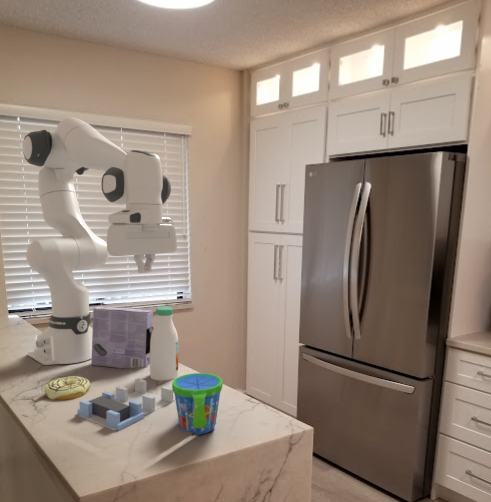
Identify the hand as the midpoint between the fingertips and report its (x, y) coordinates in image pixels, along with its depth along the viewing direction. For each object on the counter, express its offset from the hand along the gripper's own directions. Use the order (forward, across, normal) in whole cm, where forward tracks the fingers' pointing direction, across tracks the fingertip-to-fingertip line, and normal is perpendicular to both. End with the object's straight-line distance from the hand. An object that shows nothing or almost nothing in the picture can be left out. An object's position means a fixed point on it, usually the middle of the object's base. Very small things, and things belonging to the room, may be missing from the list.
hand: (144, 272), depth 105 cm
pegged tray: (+31, +9, +4) cm, 33 cm away
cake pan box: (+31, -12, -22) cm, 40 cm away
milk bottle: (+31, -11, -4) cm, 33 cm away
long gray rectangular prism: (+30, +14, +3) cm, 33 cm away
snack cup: (+31, +6, +22) cm, 39 cm away
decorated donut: (+32, +11, -16) cm, 37 cm away
